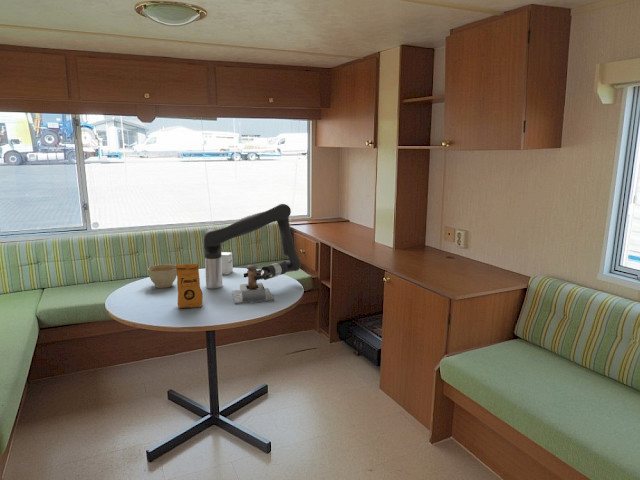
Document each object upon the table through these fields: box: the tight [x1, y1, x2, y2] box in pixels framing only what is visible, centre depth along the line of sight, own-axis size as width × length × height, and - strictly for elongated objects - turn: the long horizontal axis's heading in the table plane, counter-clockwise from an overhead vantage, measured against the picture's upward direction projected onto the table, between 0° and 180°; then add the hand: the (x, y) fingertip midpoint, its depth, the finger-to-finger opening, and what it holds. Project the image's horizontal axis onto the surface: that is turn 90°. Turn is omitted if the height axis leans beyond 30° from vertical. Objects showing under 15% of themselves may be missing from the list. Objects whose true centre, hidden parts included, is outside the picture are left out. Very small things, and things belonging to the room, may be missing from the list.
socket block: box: [231, 282, 275, 305], centre depth 244 cm, size 20×20×6 cm
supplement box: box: [221, 251, 234, 275], centre depth 289 cm, size 7×7×13 cm
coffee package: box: [175, 263, 204, 309], centre depth 227 cm, size 10×12×22 cm
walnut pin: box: [246, 264, 258, 289], centre depth 242 cm, size 6×6×16 cm
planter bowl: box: [147, 263, 177, 289], centre depth 261 cm, size 16×16×11 cm
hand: (249, 277), depth 240 cm, fingers open, 8 cm apart
